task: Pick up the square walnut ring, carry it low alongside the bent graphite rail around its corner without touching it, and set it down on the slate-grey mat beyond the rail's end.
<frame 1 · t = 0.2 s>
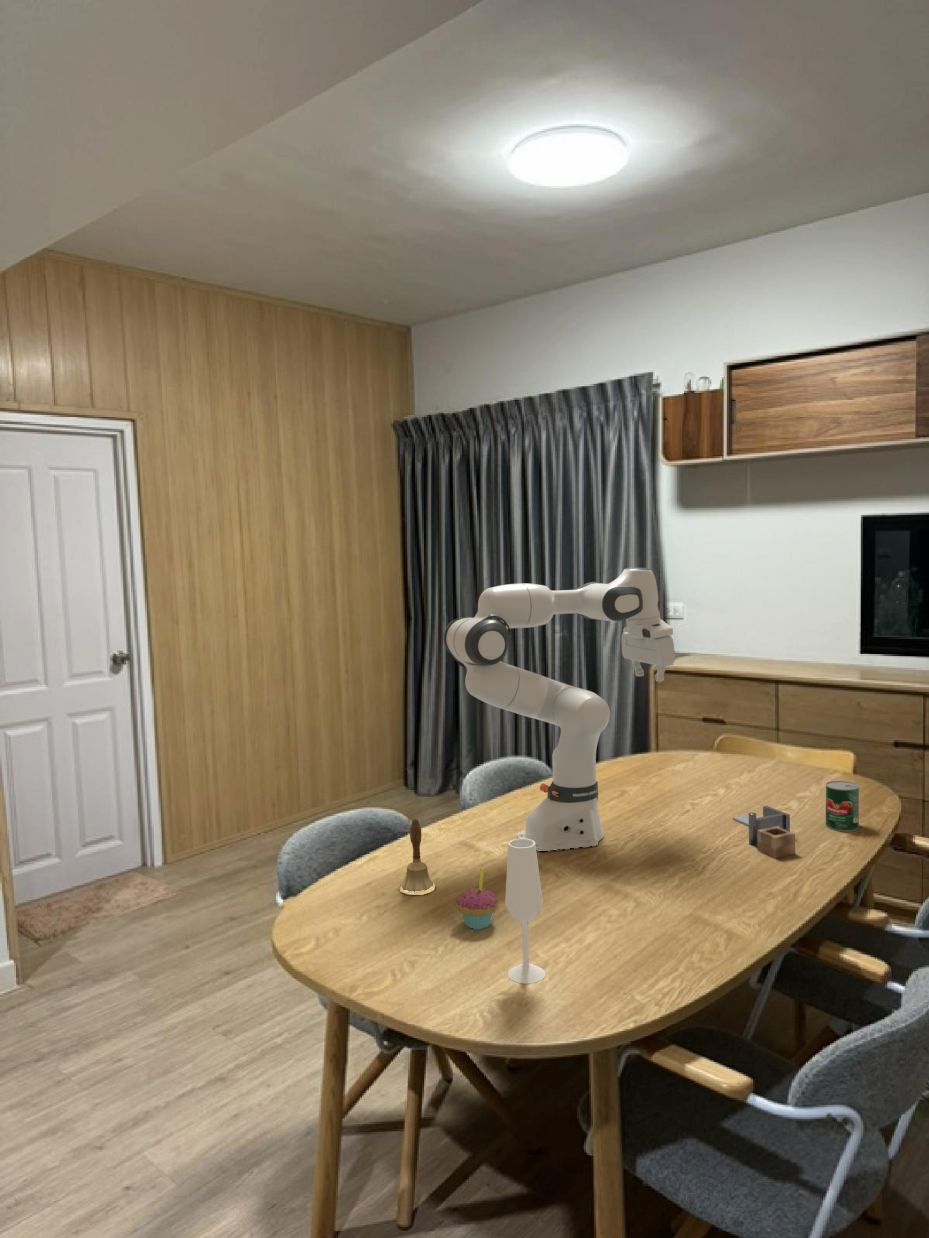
hand: (649, 678, 227), 39 cm above the table, tool pointing down, fingers open, 8 cm apart
cupcake: (478, 925, 173), on the table
walnut ring: (776, 851, 205), on the table
canned tomato: (842, 827, 220), on the table
mat: (752, 821, 227), on the table
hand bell: (417, 889, 192), on the table
bent rail: (763, 834, 217), on the table
champagne flute: (526, 974, 152), on the table
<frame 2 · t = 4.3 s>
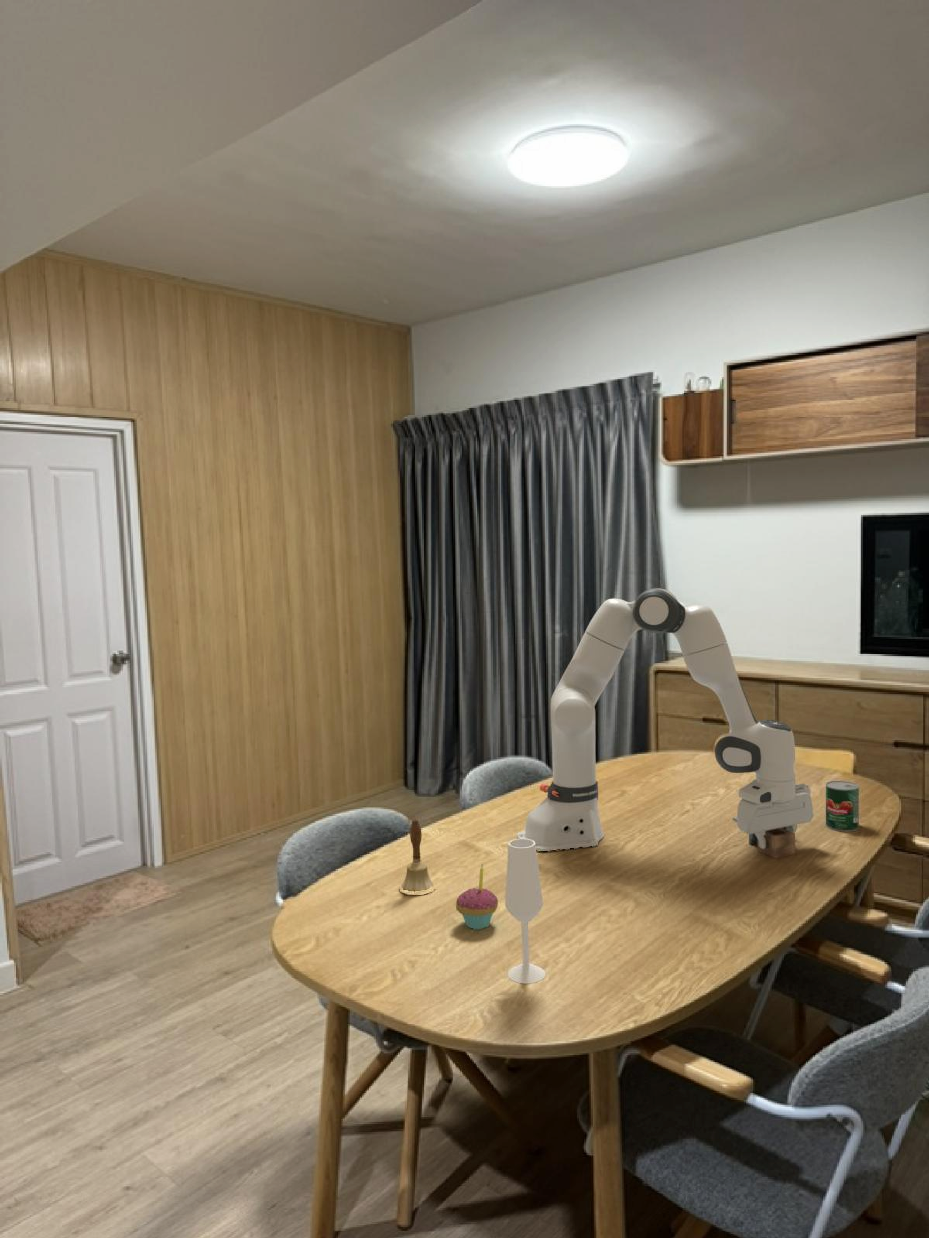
hand: (776, 844, 205), 2 cm above the table, tool pointing down, fingers closed on walnut ring, 6 cm apart
walnut ring: (776, 852, 205), on the table, touching gripper
everything else where it was.
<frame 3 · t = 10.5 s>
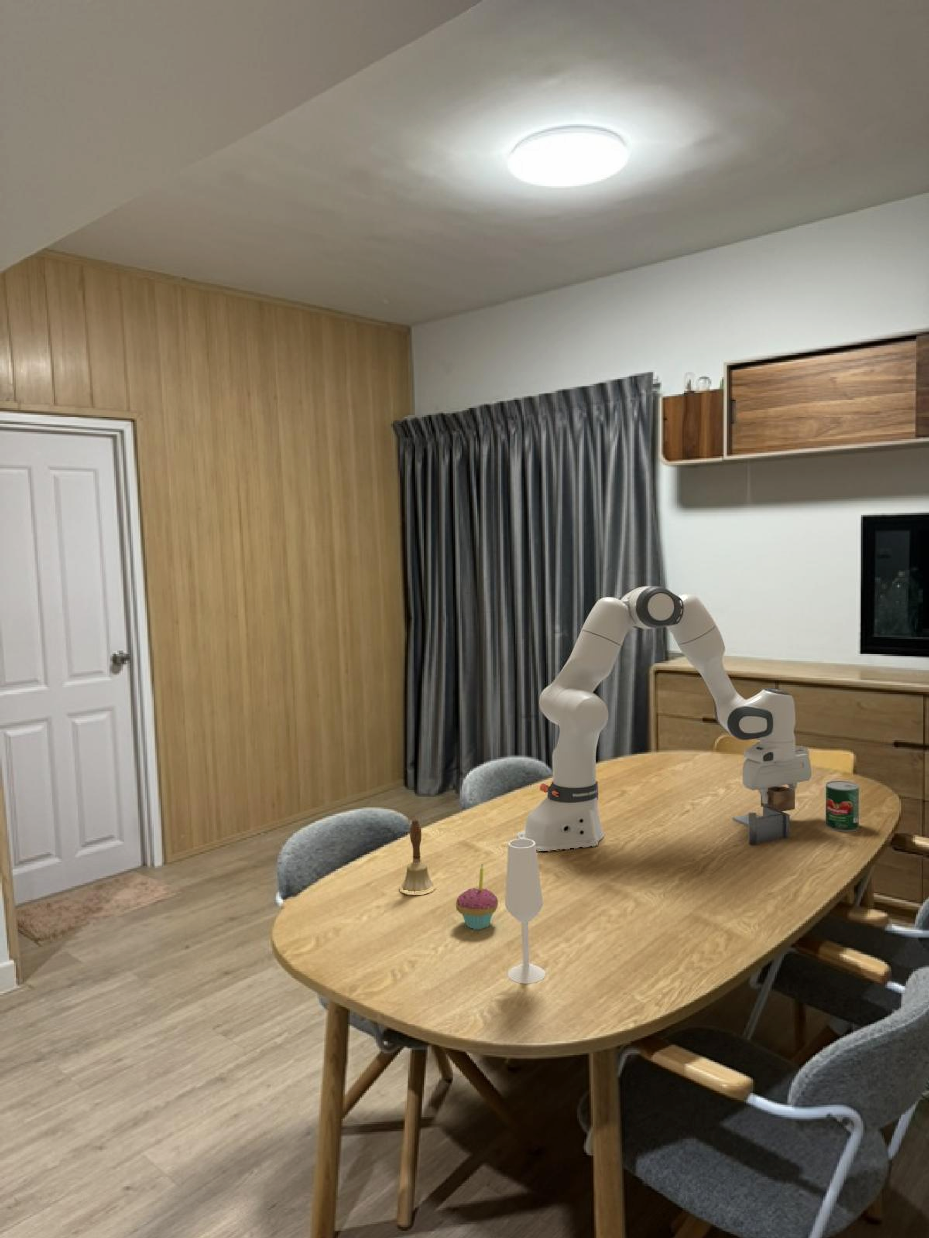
hand: (777, 801, 226), 5 cm above the table, tool pointing down, fingers closed on walnut ring, 6 cm apart
walnut ring: (777, 807, 226), point 4 cm above the table, touching gripper
everything else where it was.
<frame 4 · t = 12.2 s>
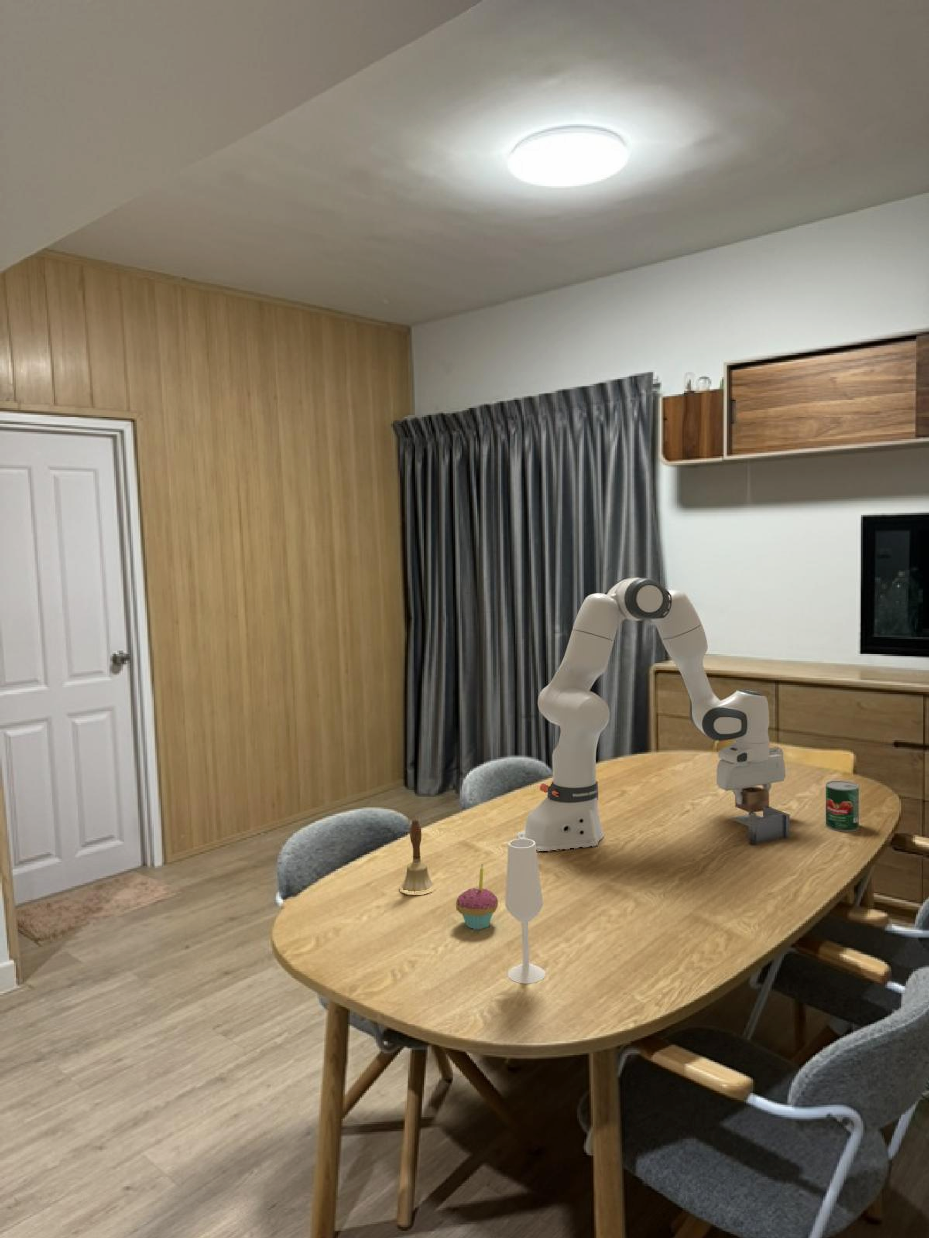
hand: (751, 801, 226), 5 cm above the table, tool pointing down, fingers closed on walnut ring, 6 cm apart
walnut ring: (752, 808, 227), point 4 cm above the table, touching gripper
everything else where it was.
when the fingers open (3 cm above the table, at t = 13.3 s): walnut ring stays where it is, resting on mat.
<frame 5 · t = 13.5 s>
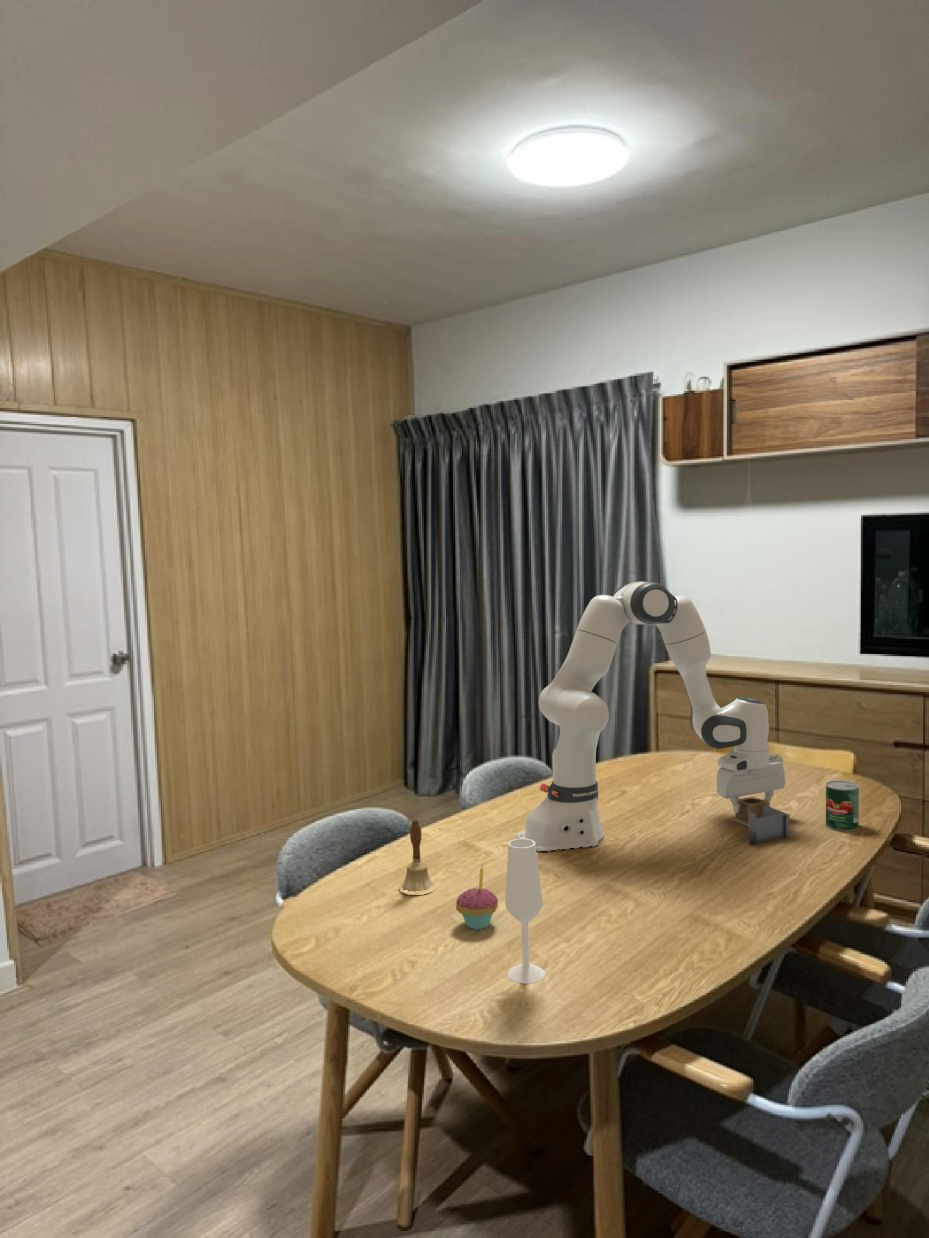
hand: (751, 809, 227), 3 cm above the table, tool pointing down, fingers open, 8 cm apart
walnut ring: (752, 819, 227), point 1 cm above the table, touching mat
everything else where it was.
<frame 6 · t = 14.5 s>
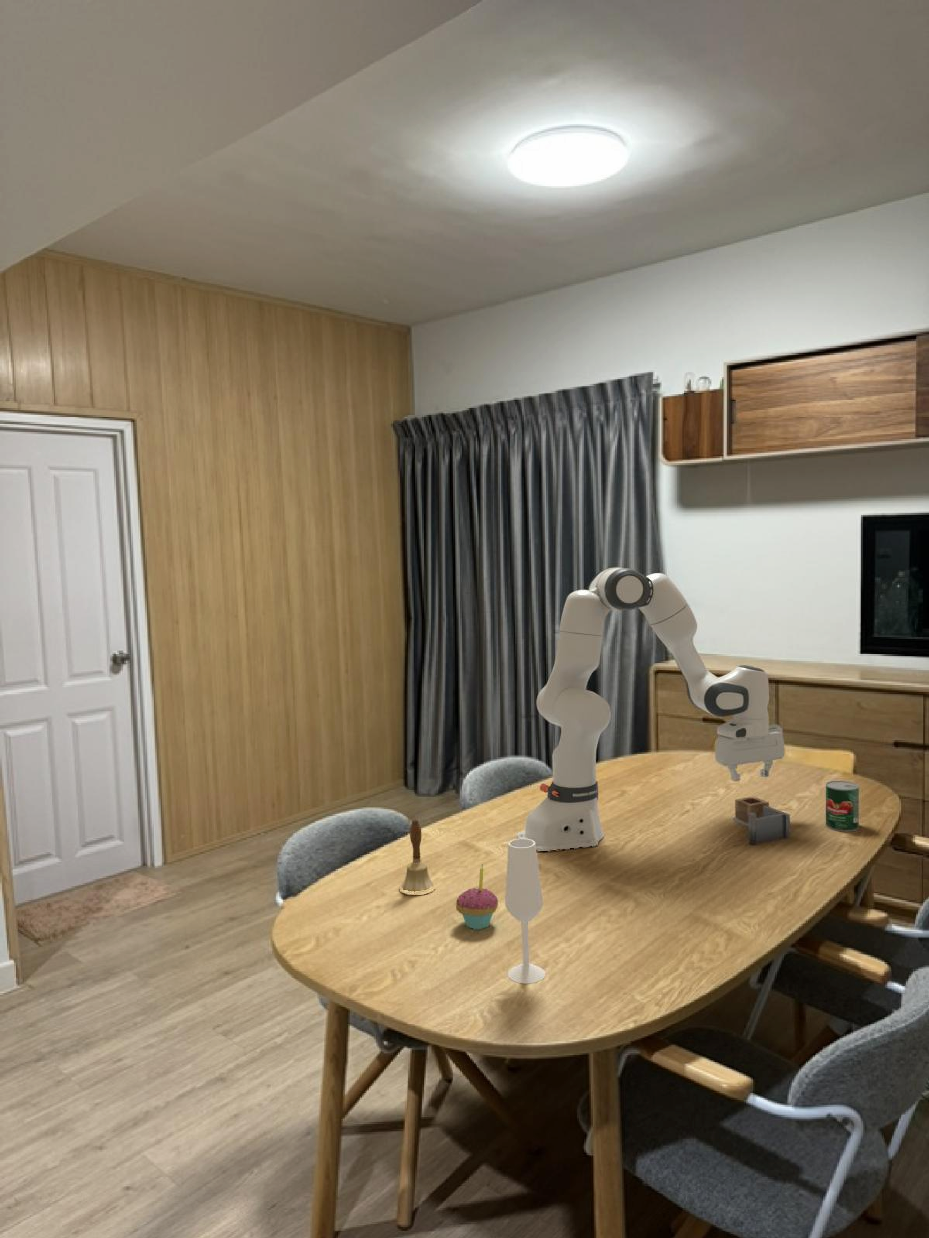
hand: (750, 778, 225), 12 cm above the table, tool pointing down, fingers open, 8 cm apart
nothing on the table moved.
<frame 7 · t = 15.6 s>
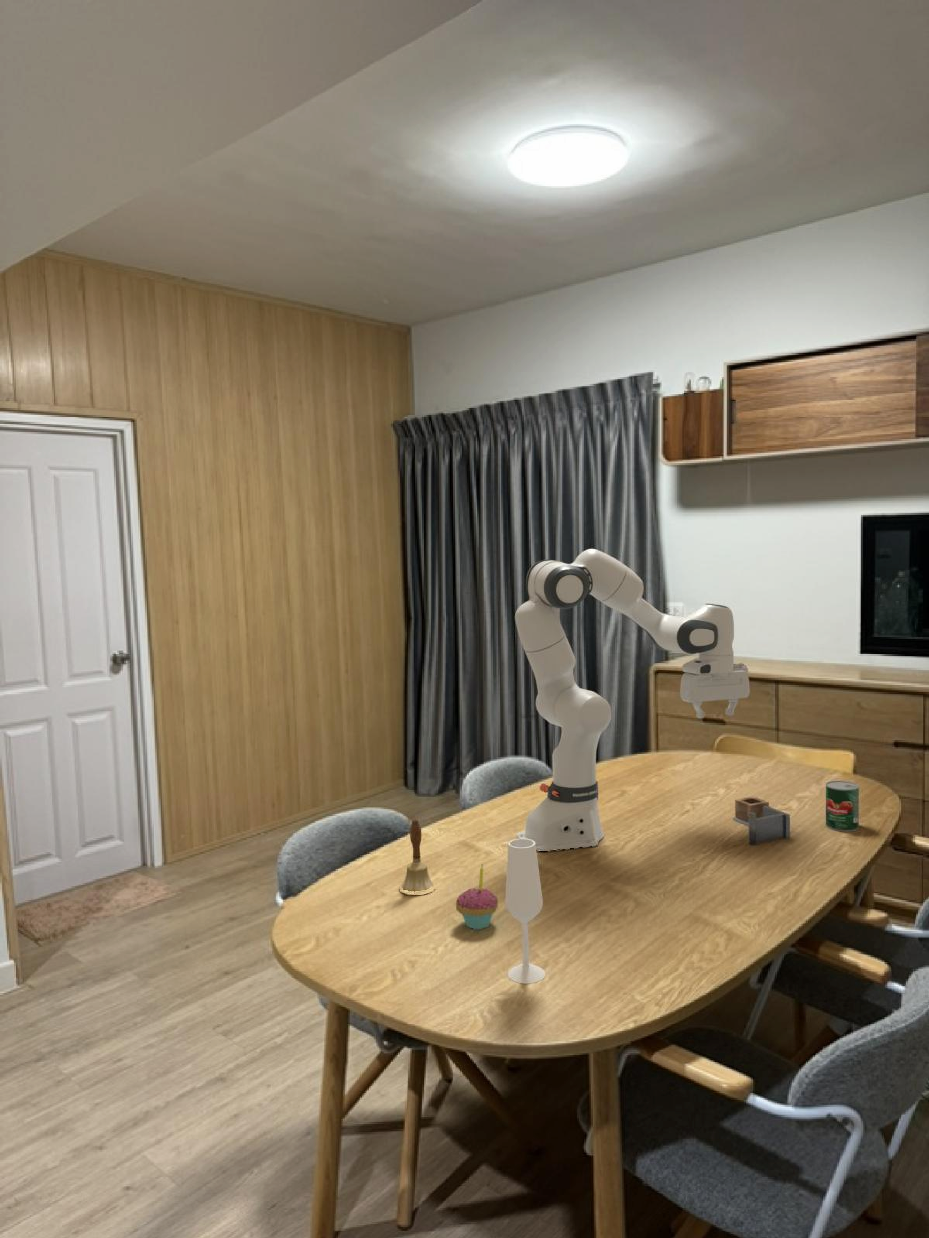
hand: (715, 716, 227), 28 cm above the table, tool pointing down, fingers open, 8 cm apart
nothing on the table moved.
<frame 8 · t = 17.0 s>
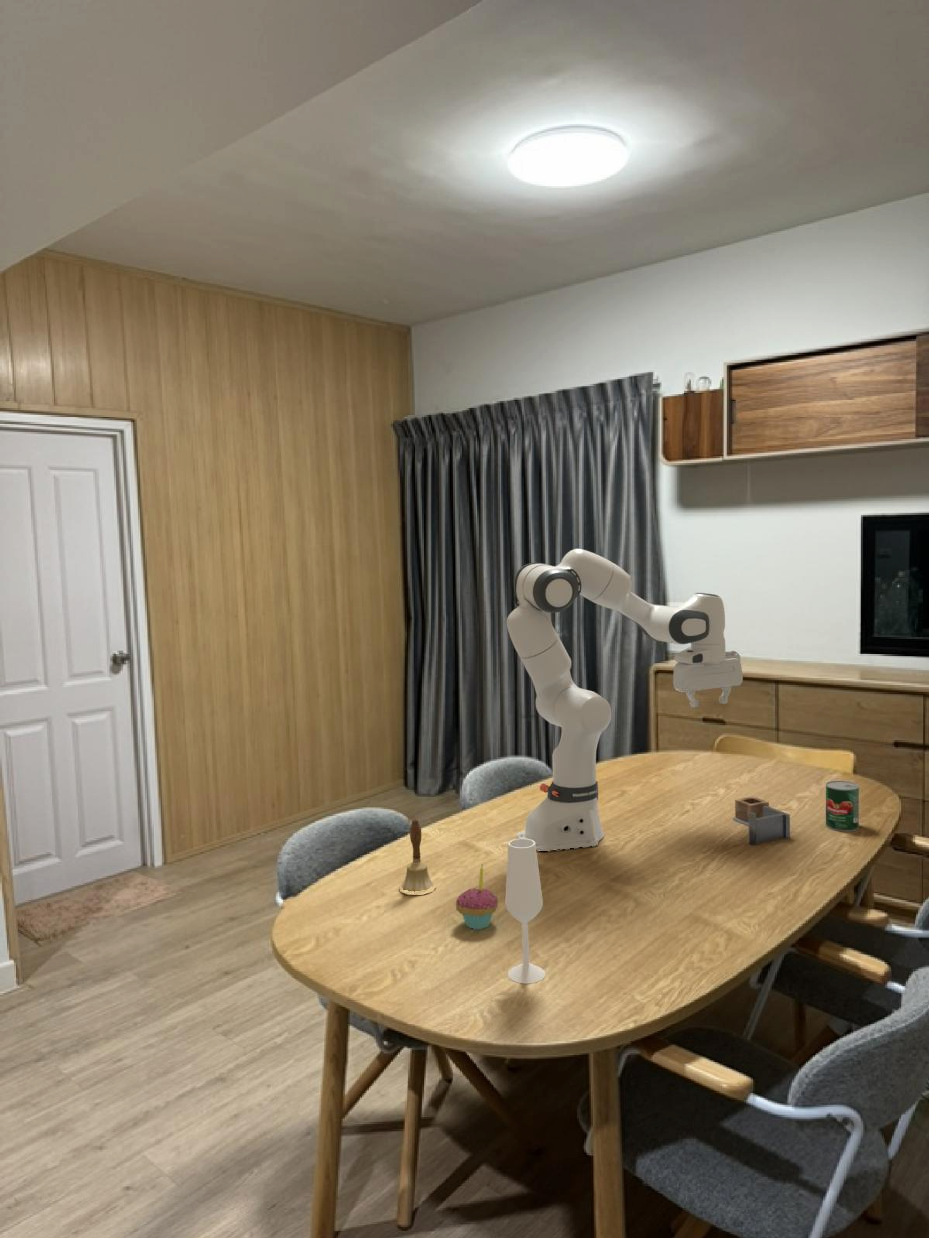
hand: (708, 705, 228), 31 cm above the table, tool pointing down, fingers open, 8 cm apart
nothing on the table moved.
at the end: walnut ring inside the target area on the mat (0.1 cm from its centre), point 0.6 cm above the mat's base; walnut ring touching mat; the gripper is holding nothing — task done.
